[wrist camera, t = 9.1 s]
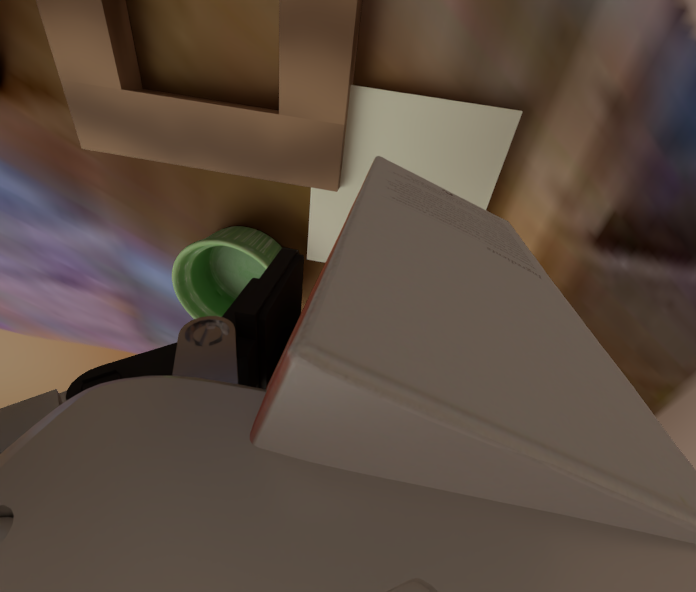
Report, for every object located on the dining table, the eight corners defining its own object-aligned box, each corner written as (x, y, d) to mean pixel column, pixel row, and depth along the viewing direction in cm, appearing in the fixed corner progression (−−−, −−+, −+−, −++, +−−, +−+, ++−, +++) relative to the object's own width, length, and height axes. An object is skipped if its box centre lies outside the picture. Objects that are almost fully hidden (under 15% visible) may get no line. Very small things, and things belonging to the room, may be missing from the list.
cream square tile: (321, 80, 20) (317, 80, 19) (517, 109, 20) (522, 111, 19) (309, 253, 27) (306, 259, 26) (455, 280, 26) (457, 286, 25)
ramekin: (315, 248, 27) (301, 274, 23) (282, 323, 32) (267, 355, 28) (210, 199, 26) (178, 218, 22) (193, 285, 31) (165, 312, 27)
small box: (377, 150, 12) (286, 333, 3) (511, 219, 12) (785, 553, 3) (303, 312, 16) (174, 585, 7) (405, 357, 16) (403, 664, 8)
